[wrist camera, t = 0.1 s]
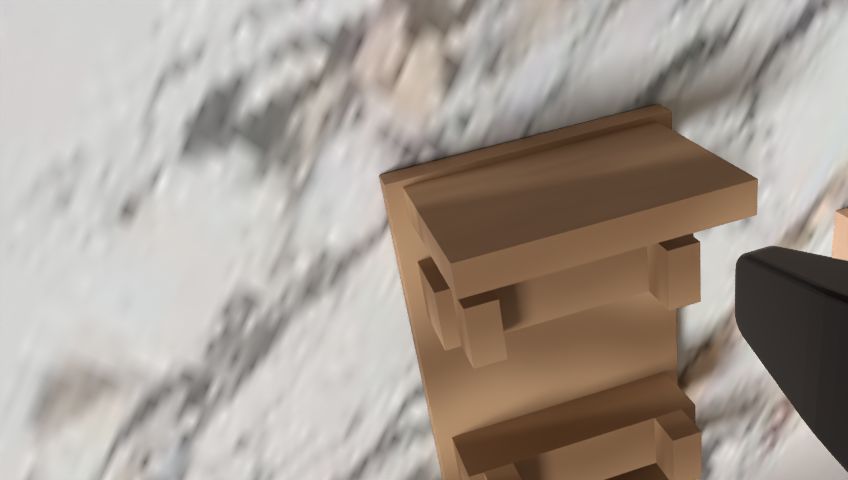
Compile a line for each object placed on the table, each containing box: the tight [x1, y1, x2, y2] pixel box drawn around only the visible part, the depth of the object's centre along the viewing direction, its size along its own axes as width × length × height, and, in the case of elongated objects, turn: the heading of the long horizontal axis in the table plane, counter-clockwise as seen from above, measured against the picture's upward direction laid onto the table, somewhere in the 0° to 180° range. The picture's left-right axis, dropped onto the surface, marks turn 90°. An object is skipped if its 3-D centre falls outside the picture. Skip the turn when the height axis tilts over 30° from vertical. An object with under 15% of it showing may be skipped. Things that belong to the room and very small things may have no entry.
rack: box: [379, 104, 758, 480], centre depth 25 cm, size 14×9×6 cm, turn 10°
